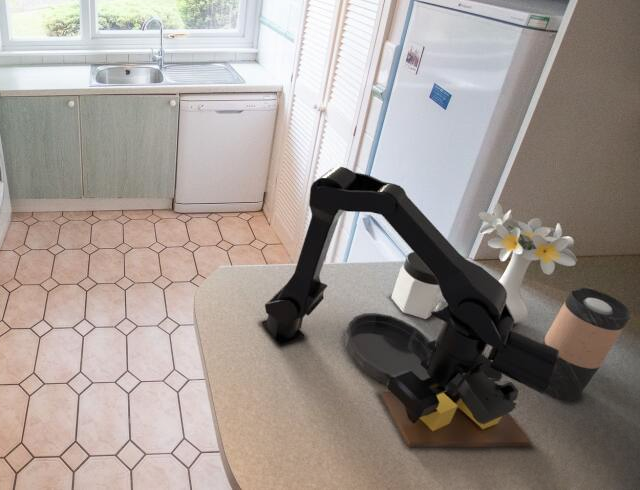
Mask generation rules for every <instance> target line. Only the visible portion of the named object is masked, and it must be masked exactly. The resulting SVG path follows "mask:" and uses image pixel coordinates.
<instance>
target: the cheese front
mask: <svg viewBox="0 0 640 490" xmlns="http://www.w3.org/2000/svg"><path fill="white" fill-rule="evenodd" d="M457 406H458V407H459V408H460V409H461V410H462V411H463V412H464V413H466V414H467V415H468V416H469V417H470V418H471V419H472V420H473V421H474V422H475V423H476V424H478V425H479V426H480V427H481V428H482V429H484V428H487V427H490V426H492V425H495V424H498V422H499V421H500V419H501V417H502V416H501V417H499V418H497V419H495V420H492V421H490V422H488V423H486V424H481V423H479V422H477V421H476V420H475V418H474V417H473V415H472V413H471V412H470V410H469V409H468V408H467V406H466V405H465V404H464V403H463V401H462V400H461V399H460V401H459V403H458V404H457Z"/></svg>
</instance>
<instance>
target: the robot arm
mask: <svg viewBox="0 0 640 490" xmlns="http://www.w3.org/2000/svg"><path fill="white" fill-rule="evenodd" d="M308 200H309V201H308V206H309V209H310V212H311V218H310V221H309V225H308V228H307V230H306V234H305V237H304V240H303V243H302V247H301V250H300V253H299V257H298V259H297V263H296V266H295V270H294V273H293V274H292V276H291V277H290V278H289V280H288V281H287V283H286V284H285V285H284V286H282V287H281V288H280V289H279V291H277V292H276V293H275V294H274V295H273V296H272V297H271V298H269V300H268V301H267V302H266V303H265V304H264V308H265V313H266V315H267V319H265V320H262V321H261V326H262V327H263V328H264V330H265V332H267V333H268V334H269V336H270V337H271V338H272V340H273V341H274V342H275V343H276V344H277V345H278V346H284V345H288V344H291V343H292V342H297V341H299V340H302V339H304V338H305V333H304V332H302V330H301V329H302V324H303V321H304V317H305V316H310V315H311V313H312V312H313V311H314V310H316V308H317V307H318V306H319V305H320V304H321V302H322V301H323V300H324V299H325V298H324V293H325V290H326V289H327V288H328V284H326V283H323V282H322V281H321V278H320V276H321V272H322V270H323V269H322V268H323V266H324V263H325V261H326V258H327V254H328V252H329V248H330V245H331V242H332V240H333V237H334V234H335V231H336V228H337V226H338V222H339V220H340V217H341V216H342V215H343V213H344V212H351V213H373V214H376V215H381V216H382V218H384V220H385V221H386V222H387V224H389V225H390V226H391V227H392V229H393V230H394V231H395V232H396V233H397V235H399V237H400V238H401V239H402V240H403V241H404V242H405V243H406V245H407V246H408V247H409V248H410V249H411V250H412V252H415V254H416V255H417V256H418V257H419V258H420V259H421V260H422V262H423V263H424V264H425V265H426V266H427V267H428V268H429V270H430V271H431V272H432V273H433V275H434V276H435V278H436V279H437V282H438V285H439V287H440V290H441V293H442V298H443V299H444V300H440V301H438V302H437V303H436V305H435V307H434V308H433V310H432V312H431V314H432V315H431V316H432V317H435V318H436V319H438V320H440V321H443V323H442V325H441V328H440V329H439V332H438V335H437V338H436V339H434V340H430V341H431V342H429V344H428V346H427V347H428V348H429V349H431V350H432V352H431V355H430V357H429V358H426V359H424V360H422V361H421V364H420V365H421V366H423V367H424V368H425V369H426V370H427V373H428V375H429V376H430V378H427V379H425V380H421V379H420V378H419V377H417V376H416V375H415V374H414V373H413V372H412V371H409V370H404V371H401V372H399V373H396V374H394V375H391V376H390V377H389V379H388V382H387V385H386V387H387V389H388V390H389V392H392V393H393V394H394V395H395V396H396V397H397V398H398V399H399V400H400V401H401V402H402V403H403V404H404V406H405V409H406V413H407V416H408V418H409V420H410V421H411V422H412V423H416V422H417V421H418V419H419V418H420V417H423V416H427V415H429V414H431V413H433V412H436V411H438V410H437V409H436V408H437V407H438V405H439V400H438V398H437V395H439V394H441V393H443V392H444V394H445V395H446V396H447V397H449V398H450V399H451V400H452V401H453V402H454V403H457V402H458V401H459V400H460V399H461V400H462V401H463V403H464V404H465V405H466V406H467V408H468V409H469V410H470V412H471V413H472V415H473V417H474V418H475V420H476V421H477V422H479V423H481V424H486V423H488V422H490V421H492V420H495V419H497V418H499V417H501V416H503V415H505V414H510V413H512V412H513V411H514V410H515V409H516V406H518V404H517V402H516V400H517V398H518V395H519V393H520V390H519V388H517V386H516V385H515V384H514V383H513V382H512V381H508V380H502V377H503V375H504V376H505V377H507V378H510V379H512V380H514V381H515V382H517V383H520V385H521V384H522V385H524V386H525V387H527V388H529V389H531V390H533V391H535V392H537V393H539V394H541V395H543V394H544V393H546V392H545V391H546V389H547V387H548V386H549V383H550V378H551V374H552V372H553V369H554V366H555V364H556V362H557V360H558V356H559V351H558V350H557V349H555V348H553V347H551V346H548V345H545V344H542V343H543V342H539V341H537V340H534V339H532V338H531V337H529V336H526V335H523V334H521V333H519V332H517V331H515V330H513V327H514V324H515V323H514V318H513V316H512V314H511V312H510V310H509V308H508V306H507V304H506V299H507V292H506V289H505V288H504V286H503V285H502V284H501V283H500V282H499V280H498V279H496V278H495V277H494V276H493V275H491V274H490V273H489V272H488V271H487V270H485V269H484V268H483V267H482V266H481V265H478V264H477V263H474V262H472V261H470V260H468V259H466V257H464V256H463V255H462V254H460V253H459V252H458V250H457V249H456V248H455V247H454V246H453V245H452V244H451V243H450V241H448V239H447V238H446V237H445V236H444V235H443V234H442V233H441V231H440V230H438V228H437V227H436V225H434V223H432V222H431V220H429V219H428V217H427V216H426V215H425V214H424V213H423V212H422V211H421V210H420V209H419V208H418V206H417V205H416V204H415V203H414V202H413V201H412V200H411V199H410V198H409V196H408V195H407V192H406V191H405V189H404V188H403V187H402V186H400V185H398V184H396V183H391V182H387V181H386V182H385V181H383V180H380V179H378V178H376V177H374V176H372V175H369V174H367V173H360V172H355V171H352V170H351V169H349V168H347V167H344V166H336V167H332V168H330V169H329V170H328V171H326V172H325V173H324V174H322V175H321V176H319V178H316V180H314V181H313V182H312V184H311V186H310V190H309V199H308ZM487 346H490V347H491V348H490V350H489V353H488V355H487V356H485V355H484V351H485V349H486V347H487Z"/></svg>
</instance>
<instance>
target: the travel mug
mask: <svg viewBox="0 0 640 490" xmlns="http://www.w3.org/2000/svg"><path fill="white" fill-rule="evenodd" d="M630 318H631V311H630V309H629V308H628V307H627V306H626V305H625V304H624V303H623V302H621V301H620V300H619V299H616V298H615V297H613V296H612V295H609V294H607V293H605V292H602V291H599V290H596V289H592V288H588V287H580V288H579V289H576V290H575V289H574V290H572V289H571V290H569V294H568V295H567V297H566V299H565V300H564V302H563V304H562V306H561V308H560V309H559V311H558V313H557V315H556V316H555V318H554V321H553V322H552V324H551V326H550V328H549V329H548V331H547V333H546V335H545V337H544V338H543V341H542V342H541V343H542V344H545V345H548V346H551V347H553V348H555V349H557V350H558V351H559V356H558V360H557V362H556V364H555V366H554V369H553V372H552V374H551V378H550V383H549V386H548V387H547V389H546V391H545V392H544V393H546V394H548V395H550V396H552V397H554V398H557V399H559V400H563V401H574V400H577V399H578V398H579V396H580V395H581V394H582V392H583V391H584V390H585V389H586V387H587V386H588V384H589V383H590V381H591V380H592V378H593V377H594V375H595V374H596V373H597V371H598V370H599V369H600V367H601V366H602V365H603V363H604V361H605V359H606V358H607V356H608V354H609V352H610V351H611V349H612V347H614V344H615V343H616V341H617V340H618V338H619V336H620V334H621V333H622V331H623V330H624V328H625V327H626V325H627V323H628V321H629V320H630Z"/></svg>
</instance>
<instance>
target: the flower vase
mask: <svg viewBox="0 0 640 490" xmlns="http://www.w3.org/2000/svg"><path fill="white" fill-rule="evenodd" d="M492 212H493V214H492V213H490V212H487V211H480V212H479V213H478V218H479V219H480V220H482V221H483V222H485V223H487V224H484V225H483V226H482V227H481V229H480V231H479V233H480V235H482V236H483V235H490V234H496V235H498V236H499V237H495V238H491V239H489V240H488V241H487V245H488V247H490V248H492V249H501V250H500V252H499V254H498V255H499V260H500V262H505V261H506V260H508V258H509V257H510V255H511V254H512V255H511V258H510V261H509V262H508V265H507V267H506V268H505V270H504V272H503V274H502V276H501V277H500V278H499V280H498V281H499V282H500V283H501V284H502V285H503V286H504V288H505V289H506V292H507V299H506V304H507V306H508V308H509V310H510V312H511V314H512V316H513V318H514V324H519V323H522V322H524V321H525V320H526V319H527V318H528V316H529V307H528V304H527V302H526V300H525V299H524V298H523V296H522V292H521V288H522V284H523V280H524V278H525V276H526V273H527V270H528V269H529V266H530V264H531V263H532V262H533V261H540V268H541V271H542V272H543V273H544V274H545V275H547V276H550V275H552V274H553V273H554V271H555V267H556V265H555V263H557V264H559V265H562V266H566V267H573V266H575V265H576V264H577V263H578V261H579V260H578V258H577V256H576V255H575V254H574V252H573V251H571V250H570V249H569V248H572V247H573V246H574V244H575V240H574V238H573V237H572V236H568V235H566V236H563V229H562V226H561V224H560V223H559V222H558V223H557V224H556V226H555V228H553V227H548V226H542V224H543V222H542V221H543V220H542V219H540V218H537V217H535V218H532V219H530V220H529V221H528V223H525V222H523V221H519V220H516V219H512V218H513V215H512V214H511V213H512V209H510V210H508V211H507V212H506V213H505V214H504V213H503V207H502V205H501V203H500V202H497V203H496V204H494V205H493V210H492ZM550 233H552V236H548V235H549V234H550ZM525 239H527V240H525Z"/></svg>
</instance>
